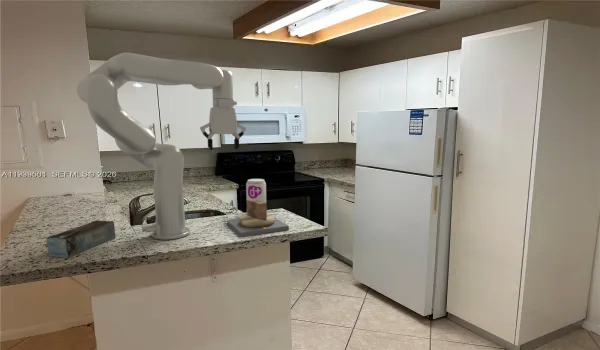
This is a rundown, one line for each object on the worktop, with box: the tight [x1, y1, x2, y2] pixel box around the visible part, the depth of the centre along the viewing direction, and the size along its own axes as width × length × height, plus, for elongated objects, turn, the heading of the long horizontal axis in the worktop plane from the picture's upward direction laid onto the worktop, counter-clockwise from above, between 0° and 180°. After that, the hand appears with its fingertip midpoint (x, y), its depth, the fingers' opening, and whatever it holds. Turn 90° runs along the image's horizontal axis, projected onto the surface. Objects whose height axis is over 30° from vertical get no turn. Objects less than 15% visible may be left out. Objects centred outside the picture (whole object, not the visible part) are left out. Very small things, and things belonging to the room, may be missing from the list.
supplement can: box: [245, 178, 267, 203], centre depth 151 cm, size 8×8×15 cm
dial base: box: [226, 216, 290, 238], centre depth 135 cm, size 18×18×2 cm
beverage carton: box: [45, 219, 116, 259], centre depth 114 cm, size 8×19×7 cm, turn 164°
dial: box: [238, 199, 275, 227], centre depth 134 cm, size 13×13×8 cm
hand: (223, 149), depth 138 cm, fingers open, 9 cm apart
